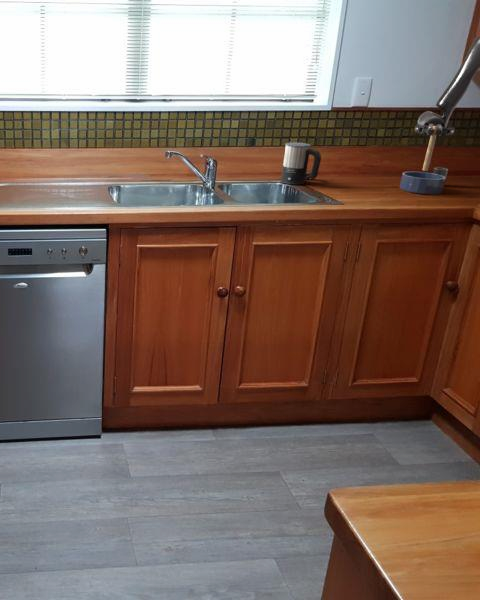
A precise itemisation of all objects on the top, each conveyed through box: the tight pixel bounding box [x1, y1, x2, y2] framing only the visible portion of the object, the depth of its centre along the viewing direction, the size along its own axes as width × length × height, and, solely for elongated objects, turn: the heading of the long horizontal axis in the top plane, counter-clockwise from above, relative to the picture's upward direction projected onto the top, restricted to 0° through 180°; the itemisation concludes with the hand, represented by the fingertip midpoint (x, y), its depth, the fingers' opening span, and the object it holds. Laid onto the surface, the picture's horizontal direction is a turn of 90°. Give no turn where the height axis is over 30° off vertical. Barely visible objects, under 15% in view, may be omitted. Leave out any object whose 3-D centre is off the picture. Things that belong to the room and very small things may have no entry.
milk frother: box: [279, 142, 322, 185], centre depth 237 cm, size 14×16×15 cm
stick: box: [422, 126, 439, 172], centre depth 222 cm, size 2×2×16 cm
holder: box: [432, 167, 449, 184], centre depth 235 cm, size 5×5×7 cm
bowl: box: [399, 171, 446, 196], centre depth 227 cm, size 14×14×6 cm
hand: (434, 132), depth 217 cm, fingers closed on stick, 2 cm apart
